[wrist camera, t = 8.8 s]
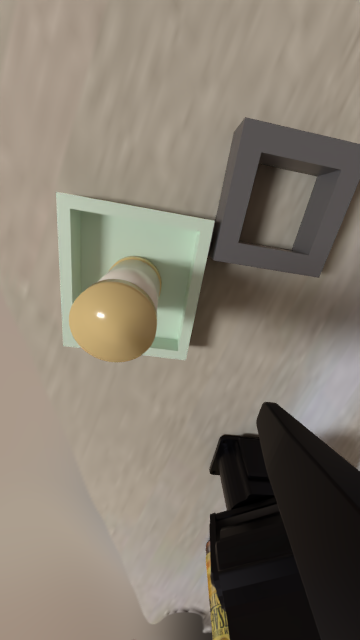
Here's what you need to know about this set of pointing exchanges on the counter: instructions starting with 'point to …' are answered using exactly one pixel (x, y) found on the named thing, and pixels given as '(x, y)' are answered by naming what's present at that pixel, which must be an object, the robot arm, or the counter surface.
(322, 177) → the socket block
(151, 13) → the counter surface
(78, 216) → the parts tray
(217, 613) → the sauce bottle
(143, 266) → the fuse
